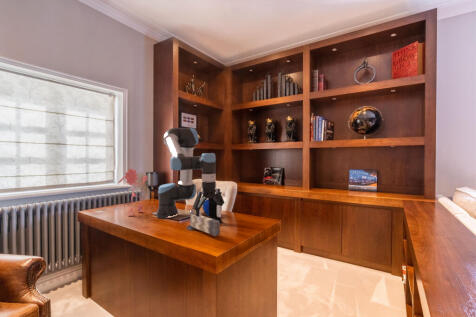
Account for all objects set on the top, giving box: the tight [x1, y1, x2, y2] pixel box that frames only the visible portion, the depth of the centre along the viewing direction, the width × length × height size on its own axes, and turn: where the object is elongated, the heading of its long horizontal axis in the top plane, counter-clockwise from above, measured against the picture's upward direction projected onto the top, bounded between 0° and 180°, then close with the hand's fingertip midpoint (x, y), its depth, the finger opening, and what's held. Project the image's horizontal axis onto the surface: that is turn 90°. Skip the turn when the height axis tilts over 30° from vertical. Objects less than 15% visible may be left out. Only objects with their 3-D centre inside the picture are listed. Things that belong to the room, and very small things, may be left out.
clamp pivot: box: [186, 209, 197, 231], centre depth 141 cm, size 5×5×11 cm
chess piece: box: [207, 191, 224, 224], centre depth 151 cm, size 8×8×20 cm
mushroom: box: [202, 199, 209, 217], centre depth 169 cm, size 14×14×15 cm
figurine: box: [117, 168, 150, 217], centre depth 178 cm, size 15×26×35 cm, turn 161°
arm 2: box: [194, 213, 221, 236], centre depth 132 cm, size 22×2×7 cm, turn 44°
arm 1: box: [192, 215, 218, 237], centre depth 131 cm, size 22×2×7 cm, turn 44°
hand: (209, 219), depth 129 cm, fingers open, 13 cm apart
